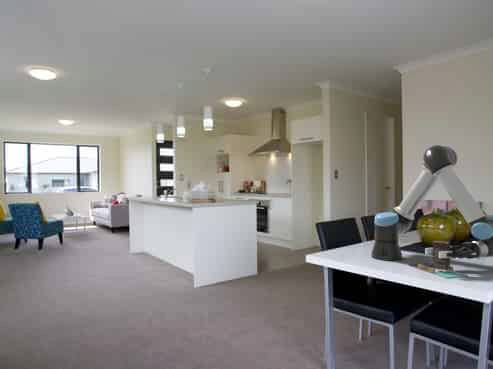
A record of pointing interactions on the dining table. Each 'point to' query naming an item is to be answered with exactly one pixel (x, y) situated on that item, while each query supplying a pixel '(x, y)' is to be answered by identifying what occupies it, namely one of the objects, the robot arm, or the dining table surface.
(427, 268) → the trap track
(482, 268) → the dining table surface
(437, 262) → the box
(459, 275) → the pad
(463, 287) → the dining table surface
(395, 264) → the dining table surface
